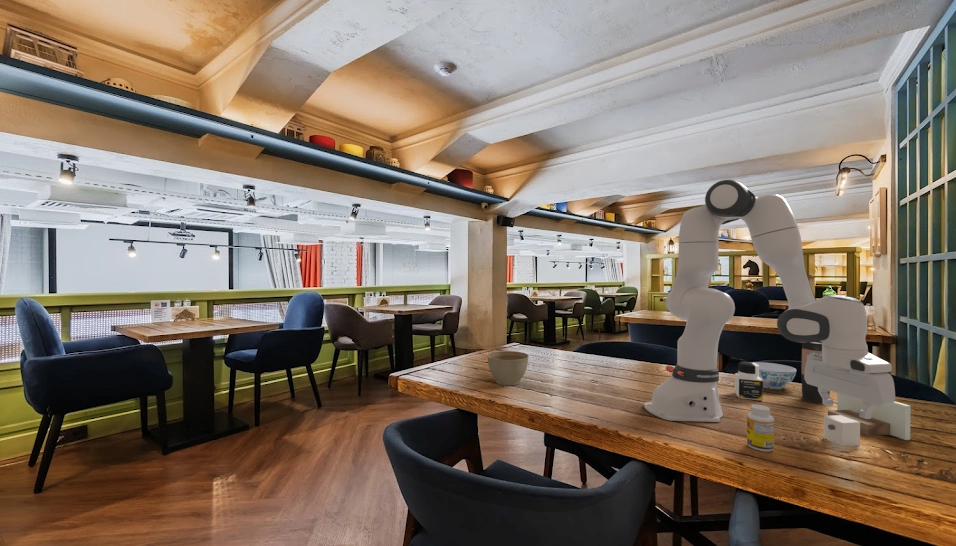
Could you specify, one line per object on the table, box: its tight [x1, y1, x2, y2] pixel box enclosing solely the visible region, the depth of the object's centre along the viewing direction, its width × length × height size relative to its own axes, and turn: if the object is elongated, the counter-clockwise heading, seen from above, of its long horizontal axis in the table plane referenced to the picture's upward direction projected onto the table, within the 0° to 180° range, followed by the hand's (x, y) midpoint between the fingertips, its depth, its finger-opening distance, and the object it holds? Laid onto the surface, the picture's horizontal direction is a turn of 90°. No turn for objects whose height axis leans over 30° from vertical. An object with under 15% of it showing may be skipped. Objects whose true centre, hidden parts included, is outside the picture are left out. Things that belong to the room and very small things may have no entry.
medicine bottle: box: [734, 361, 764, 401], centre depth 143 cm, size 7×7×12 cm
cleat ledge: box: [827, 409, 891, 437], centre depth 115 cm, size 7×11×3 cm, turn 7°
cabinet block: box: [822, 415, 861, 447], centre depth 106 cm, size 6×5×6 cm
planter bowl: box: [486, 350, 530, 387], centre depth 159 cm, size 16×16×11 cm
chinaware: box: [753, 361, 797, 390], centre depth 155 cm, size 15×15×8 cm
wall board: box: [836, 393, 912, 441], centre depth 116 cm, size 2×18×9 cm, turn 7°
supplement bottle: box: [746, 404, 775, 452], centre depth 102 cm, size 6×6×10 cm
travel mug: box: [801, 341, 831, 404], centre depth 139 cm, size 8×8×20 cm
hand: (845, 411), depth 105 cm, fingers open, 8 cm apart
